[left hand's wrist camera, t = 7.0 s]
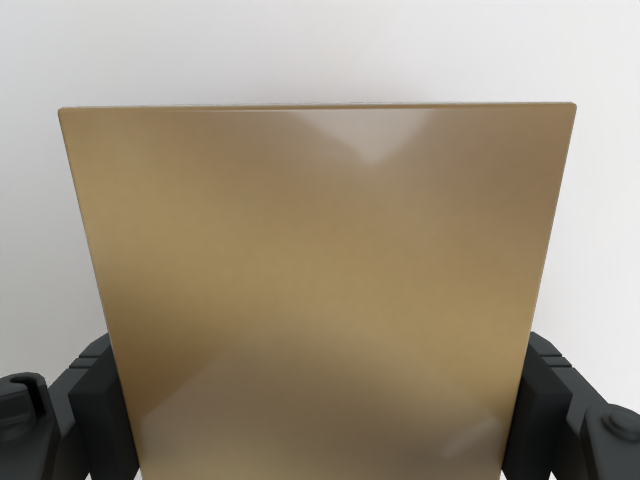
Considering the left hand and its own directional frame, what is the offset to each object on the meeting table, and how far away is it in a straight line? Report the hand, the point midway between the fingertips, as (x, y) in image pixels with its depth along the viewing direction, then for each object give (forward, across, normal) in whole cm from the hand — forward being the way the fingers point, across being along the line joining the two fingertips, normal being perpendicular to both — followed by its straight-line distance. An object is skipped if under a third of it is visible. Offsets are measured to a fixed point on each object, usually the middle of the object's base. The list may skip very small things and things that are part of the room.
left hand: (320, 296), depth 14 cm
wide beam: (0, 0, -25) cm, 25 cm away
